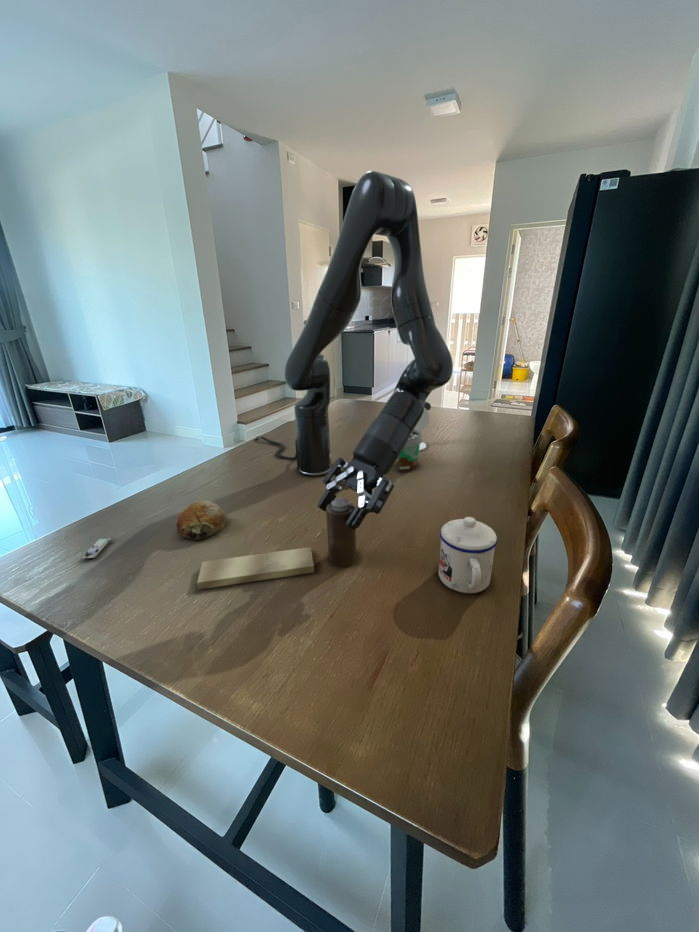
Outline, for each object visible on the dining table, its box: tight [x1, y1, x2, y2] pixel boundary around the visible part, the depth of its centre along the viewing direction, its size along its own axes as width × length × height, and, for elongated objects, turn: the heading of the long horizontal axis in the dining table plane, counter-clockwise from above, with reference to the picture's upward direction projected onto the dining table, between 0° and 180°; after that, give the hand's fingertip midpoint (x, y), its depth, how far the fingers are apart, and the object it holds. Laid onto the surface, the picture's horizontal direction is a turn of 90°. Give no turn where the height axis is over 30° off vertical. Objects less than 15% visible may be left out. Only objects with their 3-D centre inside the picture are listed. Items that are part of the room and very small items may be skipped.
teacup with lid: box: [438, 516, 498, 594], centre depth 63 cm, size 12×9×12 cm
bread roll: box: [176, 499, 226, 541], centre depth 83 cm, size 10×10×8 cm
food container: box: [398, 430, 423, 473], centre depth 112 cm, size 12×6×10 cm, turn 168°
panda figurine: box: [414, 400, 432, 452], centre depth 127 cm, size 12×11×15 cm
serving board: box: [196, 546, 315, 590], centre depth 70 cm, size 20×6×2 cm, turn 101°
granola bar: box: [81, 537, 112, 559], centre depth 77 cm, size 7×2×1 cm, turn 4°
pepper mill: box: [325, 497, 357, 568], centre depth 70 cm, size 5×5×12 cm
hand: (334, 518), depth 68 cm, fingers open, 8 cm apart
